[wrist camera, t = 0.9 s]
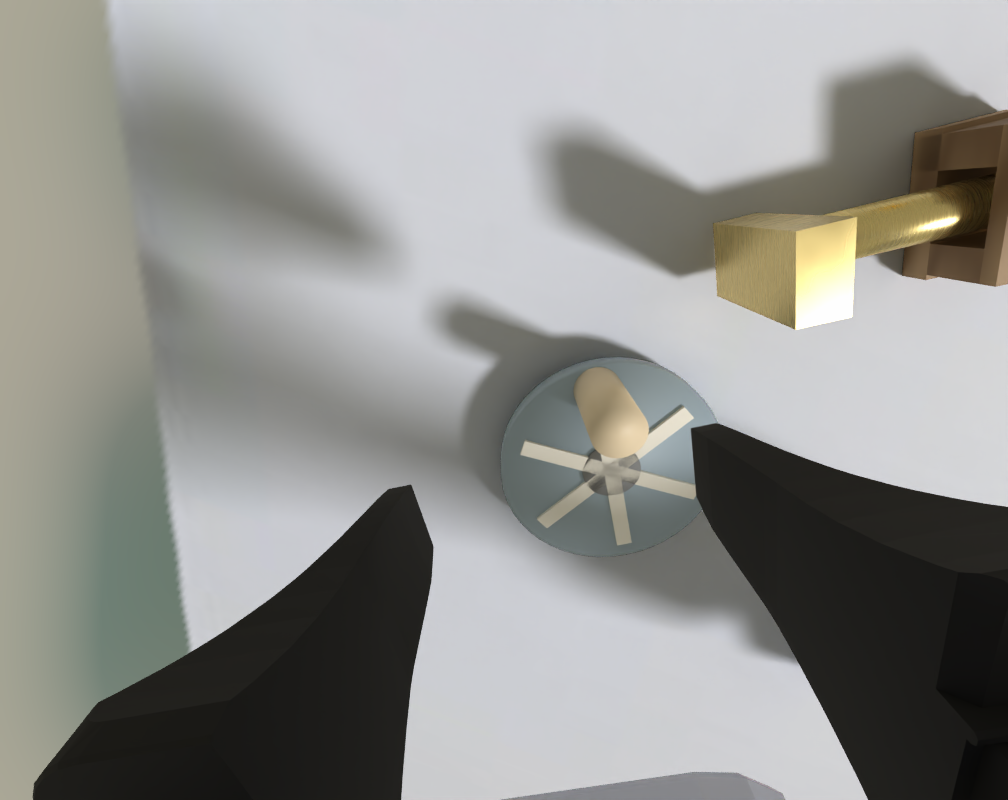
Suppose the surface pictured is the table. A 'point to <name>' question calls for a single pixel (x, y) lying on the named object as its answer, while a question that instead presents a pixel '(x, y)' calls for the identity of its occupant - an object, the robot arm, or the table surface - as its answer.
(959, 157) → the eye block
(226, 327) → the table surface
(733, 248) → the hook rod
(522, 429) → the handwheel
